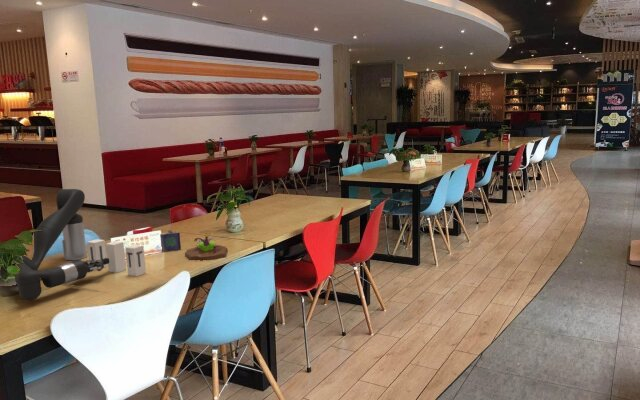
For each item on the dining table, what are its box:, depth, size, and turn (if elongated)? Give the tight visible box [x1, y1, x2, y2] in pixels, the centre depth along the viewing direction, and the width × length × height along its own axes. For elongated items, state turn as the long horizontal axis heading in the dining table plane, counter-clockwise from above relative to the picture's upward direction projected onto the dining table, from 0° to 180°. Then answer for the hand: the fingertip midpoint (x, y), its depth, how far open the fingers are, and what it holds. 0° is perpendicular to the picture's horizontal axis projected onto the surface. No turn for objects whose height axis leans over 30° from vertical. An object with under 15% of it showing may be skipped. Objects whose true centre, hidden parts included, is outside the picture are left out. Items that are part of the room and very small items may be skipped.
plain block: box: [105, 240, 127, 274], centre depth 221 cm, size 5×5×12 cm
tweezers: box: [196, 237, 216, 244], centre depth 277 cm, size 17×5×2 cm, turn 157°
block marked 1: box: [86, 238, 108, 268], centre depth 227 cm, size 5×5×12 cm
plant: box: [184, 233, 228, 262], centre depth 246 cm, size 20×20×11 cm
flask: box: [159, 228, 182, 253], centre depth 257 cm, size 9×3×11 cm, turn 109°
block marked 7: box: [124, 244, 147, 277], centre depth 215 cm, size 5×5×12 cm
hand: (108, 260), depth 218 cm, fingers closed
